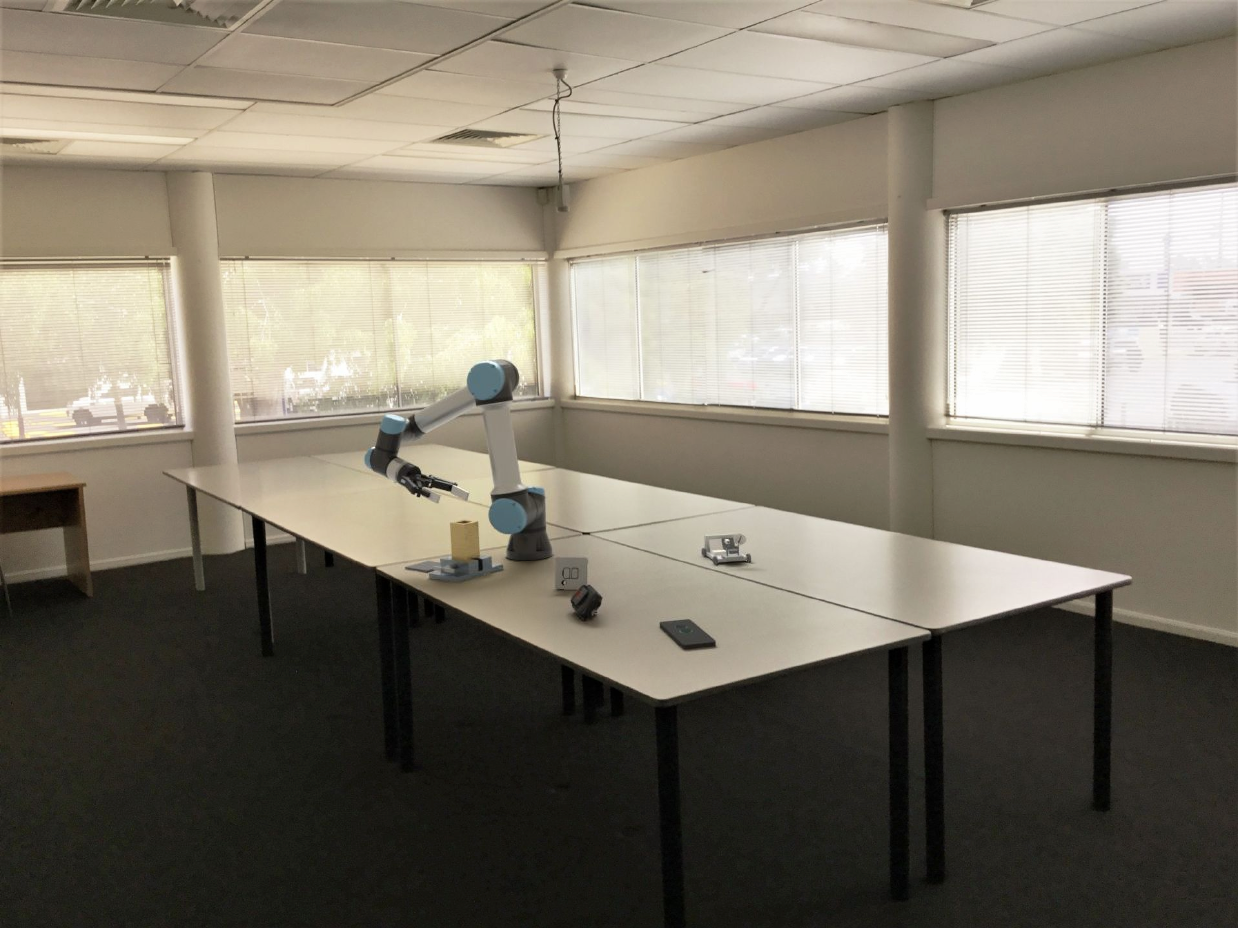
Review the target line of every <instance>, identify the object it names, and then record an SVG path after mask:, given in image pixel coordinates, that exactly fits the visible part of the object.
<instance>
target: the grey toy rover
mask: <svg viewBox="0 0 1238 928" xmlns="http://www.w3.org/2000/svg"><path fill="white" fill-rule="evenodd" d="M703 538H704V539H703V540H704V547H702V548H701V550H700V551H701V556H702V555H703V556H706V557H708V558H710V559H711V560H712V564H713V563H715V564H714V566H718V565H719V563H729V562H740V561H741V562H742V561H746V560H747V561H751V562H752V556H751V553H746V555H745V554H743V553H742V552H741V551H740V546H743V545H745V544H746V542H747V537H746V535H745V534H742V533H733V532H732V533H724V534H722V533H721V534H719V533H718V534H705V535H704V537H703ZM703 556H702V557H703ZM747 561H746V562H747ZM717 564H718V565H717Z"/></svg>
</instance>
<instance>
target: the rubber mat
mask: <svg viewBox="0 0 1238 928" xmlns="http://www.w3.org/2000/svg"><path fill="white" fill-rule="evenodd" d="M434 566H439V567H441V565H440V561H433V560H426V561H422V562H419V563H415V564H411V565H407V566H404V569H405V570H410V571H415V570H417V571H416V572H422V573H431V572H435V570H433V567H434Z"/></svg>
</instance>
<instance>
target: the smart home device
mask: <svg viewBox="0 0 1238 928" xmlns="http://www.w3.org/2000/svg"><path fill="white" fill-rule="evenodd" d="M659 628H660V630H662V631H663V632H664V633H665V634H666V635H667V636H668V637H670V639H672V641H673V642H674V643H676V645H678V646H679V647H680V648H681V649H682V650H685V651H686V650H695V649H705V648H713V647H716V646H717V644H716V643H717V642H716V639H714V638H713V637H712V636H711V635H709V633H707V632H706V631H705V630H704V629H703V628H701V627H700V626H699V625H697V624H696V623H695V622H694V621H693V620H692V619H688V618H686V619H685V618H684V619H677V620H666V621H660V622H659Z"/></svg>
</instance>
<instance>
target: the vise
mask: <svg viewBox="0 0 1238 928" xmlns="http://www.w3.org/2000/svg"><path fill="white" fill-rule="evenodd" d="M439 562H440V565H441V567H439V566H434V567H433V570H434V571H431V572H428V578H429V579H432V580H433V579H434V580H437V581H445V582H450V583H457V584H459V583H462V582H465V581H468V580H469V581H470V580H472V579H475V578H478V576H479V577H482V576H485V575H488V574H491V572H492V573H495V572H498V570H499V571H502V570H504V564H502V563H498V562H497V563H496V562H493V558H492V556H491V555H486V554H485V555H484V554H480V557H477V558H473V559H470V560H459V559H453V558H452V555H448V556H445V557H441V558H439ZM484 574H485V575H484ZM461 581H462V582H461Z"/></svg>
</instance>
